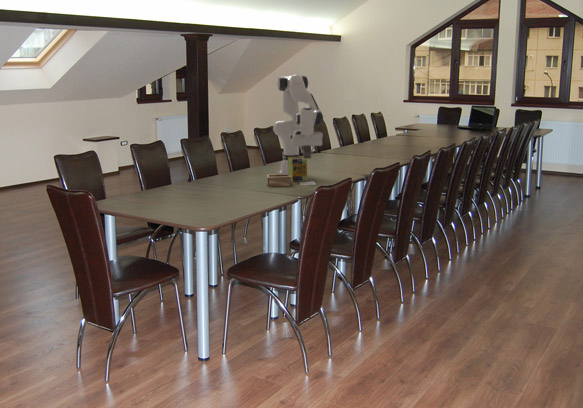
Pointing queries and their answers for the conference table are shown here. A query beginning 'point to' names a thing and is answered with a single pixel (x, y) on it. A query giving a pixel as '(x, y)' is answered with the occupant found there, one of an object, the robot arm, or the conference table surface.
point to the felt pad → (308, 183)
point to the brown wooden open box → (279, 180)
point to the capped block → (307, 152)
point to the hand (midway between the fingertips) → (307, 152)
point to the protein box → (297, 168)
